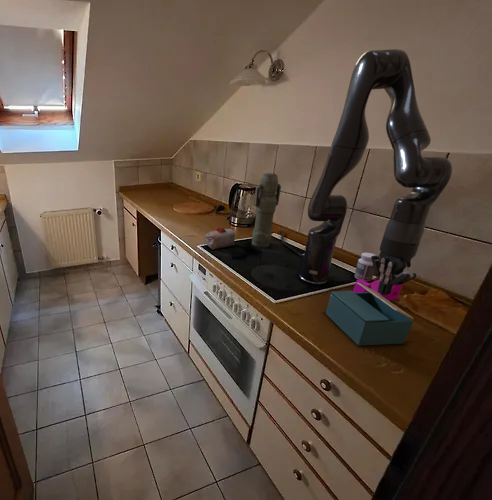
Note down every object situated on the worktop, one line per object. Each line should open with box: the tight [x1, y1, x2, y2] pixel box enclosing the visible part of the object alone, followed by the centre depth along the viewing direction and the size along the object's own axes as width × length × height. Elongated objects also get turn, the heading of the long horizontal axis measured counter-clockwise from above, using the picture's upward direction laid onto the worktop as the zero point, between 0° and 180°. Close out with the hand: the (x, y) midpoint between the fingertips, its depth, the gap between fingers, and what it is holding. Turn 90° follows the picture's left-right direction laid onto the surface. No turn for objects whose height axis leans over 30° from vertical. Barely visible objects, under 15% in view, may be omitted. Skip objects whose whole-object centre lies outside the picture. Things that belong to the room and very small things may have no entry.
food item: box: [204, 226, 236, 250], centre depth 148 cm, size 14×8×10 cm, turn 109°
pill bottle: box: [353, 252, 377, 282], centre depth 114 cm, size 6×6×10 cm
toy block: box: [352, 278, 404, 301], centre depth 102 cm, size 15×6×8 cm, turn 101°
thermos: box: [251, 172, 282, 249], centre depth 144 cm, size 9×12×35 cm
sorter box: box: [325, 290, 414, 346], centre depth 87 cm, size 15×13×8 cm
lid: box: [357, 282, 415, 320], centre depth 85 cm, size 15×6×1 cm, turn 2°
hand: (383, 293), depth 84 cm, fingers closed
